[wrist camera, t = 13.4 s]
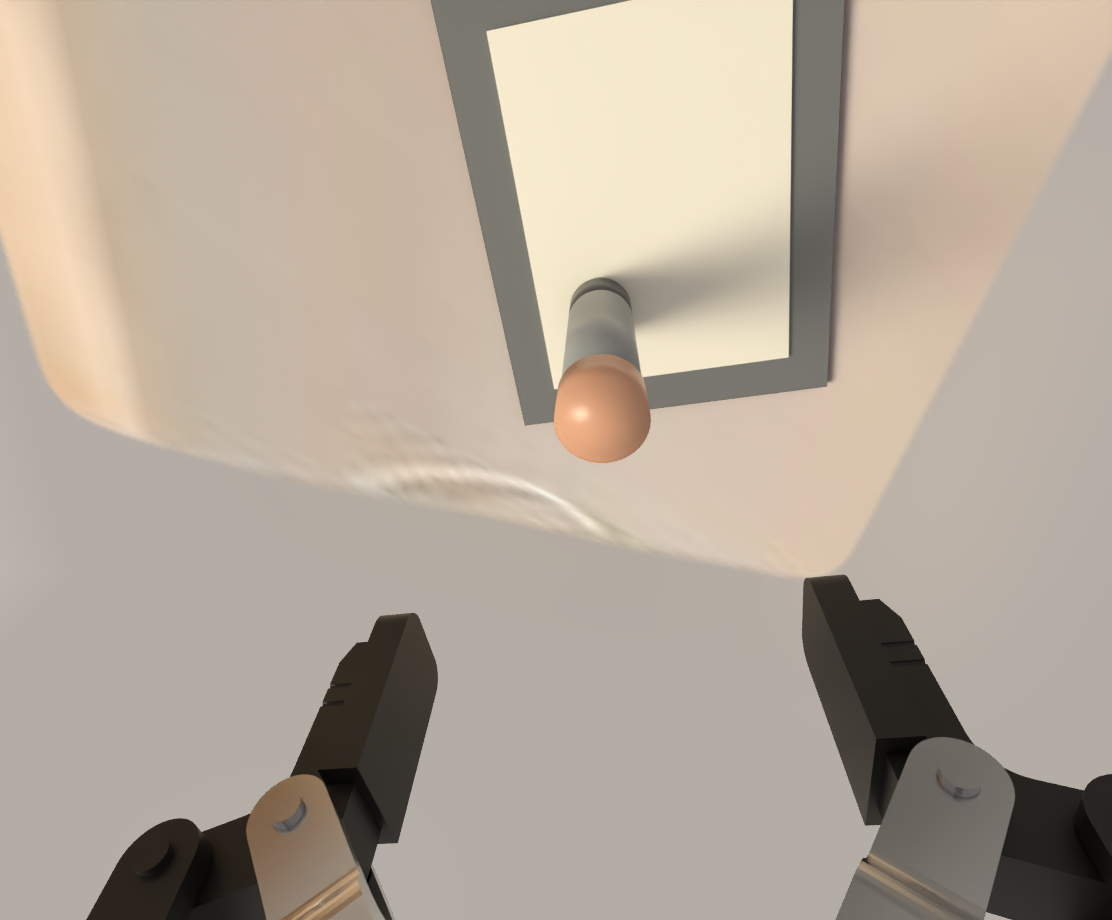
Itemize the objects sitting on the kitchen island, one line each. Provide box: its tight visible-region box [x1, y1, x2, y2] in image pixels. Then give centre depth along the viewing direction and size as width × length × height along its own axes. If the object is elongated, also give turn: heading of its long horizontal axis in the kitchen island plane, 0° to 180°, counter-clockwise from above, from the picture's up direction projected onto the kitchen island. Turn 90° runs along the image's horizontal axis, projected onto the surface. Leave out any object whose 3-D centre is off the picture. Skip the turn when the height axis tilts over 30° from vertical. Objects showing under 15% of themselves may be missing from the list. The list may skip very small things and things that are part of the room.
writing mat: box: [431, 0, 844, 425], centre depth 29 cm, size 20×16×1 cm
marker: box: [554, 278, 651, 463], centre depth 26 cm, size 3×3×12 cm
